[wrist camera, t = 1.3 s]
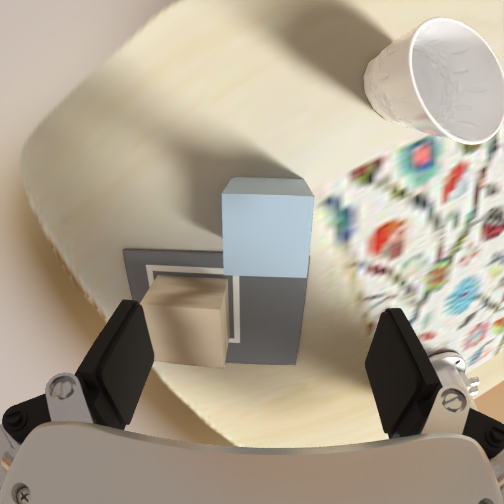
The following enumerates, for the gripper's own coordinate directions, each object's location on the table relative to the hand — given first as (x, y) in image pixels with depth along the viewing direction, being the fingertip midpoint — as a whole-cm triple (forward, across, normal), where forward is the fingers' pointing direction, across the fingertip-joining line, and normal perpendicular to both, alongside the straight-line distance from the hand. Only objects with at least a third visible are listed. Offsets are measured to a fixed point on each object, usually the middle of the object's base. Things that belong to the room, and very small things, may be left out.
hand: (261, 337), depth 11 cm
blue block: (+16, 0, 0) cm, 16 cm away
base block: (+16, +7, +10) cm, 20 cm away
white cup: (+16, -11, -12) cm, 23 cm away
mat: (+16, +5, +11) cm, 20 cm away
